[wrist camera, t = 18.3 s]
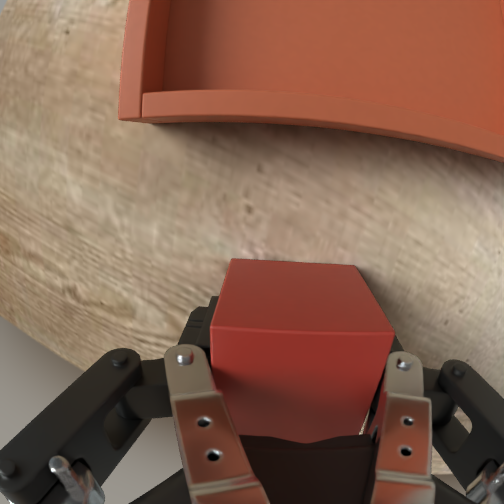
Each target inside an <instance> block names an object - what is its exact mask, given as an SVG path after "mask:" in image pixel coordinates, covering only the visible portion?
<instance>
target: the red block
mask: <svg viewBox="0 0 504 504" xmlns="http://www.w3.org/2000/svg"><path fill="white" fill-rule="evenodd" d="M394 337H395V331H394V329H393V327H392V326H391V324H390V322H389V321H388V319H387V317H386V315H385V314H384V312H383V310H382V309H381V307H380V305H379V304H378V302H377V300H376V299H375V297H374V296H373V294H372V292H371V291H370V289H369V287H368V286H367V284H366V283H365V281H364V279H363V278H362V276H361V275H360V273H359V271H358V270H357V268H356V267H355V266H354V265H339V264H320V263H302V262H284V261H267V260H250V259H231V261H230V264H229V267H228V270H227V273H226V276H225V280H224V283H223V286H222V289H221V292H220V296H219V299H218V302H217V305H216V308H215V312H214V315H213V318H212V321H211V325H210V353H211V373H212V376H213V379H214V382H215V385H216V388H217V389H221V390H222V393H223V395H224V398H225V401H226V404H227V406H228V409H229V412H230V414H231V417H232V420H233V422H234V425H235V428H236V430H237V433H238V435H252V436H271V437H276V438H280V439H285V440H290V441H294V442H299V443H313V442H317V441H321V440H325V439H330V438H334V437H337V436H348V435H359V432H360V430H361V428H362V425H363V423H364V421H365V418H366V416H367V413H368V411H369V408H370V406H371V403H372V401H373V398H374V396H375V393H376V390H377V388H378V385H379V382H380V379H381V377H382V374H383V371H384V368H385V365H386V362H387V359H388V356H389V353H390V350H391V347H392V343H393V340H394Z"/></svg>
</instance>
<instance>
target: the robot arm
mask: <svg viewBox="0 0 504 504" xmlns="http://www.w3.org/2000/svg"><path fill="white" fill-rule="evenodd" d="M218 299H219V296H212V298H211V301H210V304H209V306H208V307H200V306H199V307H198V308H196V309H195V310H194V311H192V312H191V314H190V316H189V319H188V321H187V323H186V327H185V328H184V331H183V333H182V335H181V338H180V340H179V342H178V345H176V346H173V347H171V348H169V349H168V350H167V351H166V352H165V354H164V358H161V359H155V360H143V361H141V359H140V356H139V354H138V353H137V352H135V351H134V350H131V349H127V348H119V349H114V350H111V351H109V352H107V353H106V354H104V355H103V356H102V357H101V358H100V359H99V360H98V361H97V362H96V363H94V364H93V365H92V366H91V367H90V368H89V369H88V370H87V371H86V372H84V373H83V374H82V375H81V376H80V377H79V378H78V379H77V380H76V381H75V382H74V383H72V384H71V385H70V386H69V387H68V388H67V389H66V390H65V391H64V392H63V393H61V394H60V395H59V396H58V397H57V398H56V399H55V400H54V401H53V402H52V403H50V404H49V405H48V406H47V407H46V408H45V409H44V410H43V411H42V412H41V413H40V414H39V415H37V417H35V418H34V419H33V420H32V421H31V422H30V423H29V424H28V425H27V426H26V427H25V428H24V429H23V430H22V431H20V432H19V433H18V434H17V435H16V436H15V437H14V438H13V439H12V440H11V441H10V442H9V443H8V444H7V445H6V446H4V447H3V448H2V449H1V450H0V492H1V493H2V494H3V495H4V496H5V497H6V499H7V500H8V501H9V502H10V503H11V504H104V502H105V495H104V492H103V490H102V488H101V486H102V484H103V483H104V482H105V480H106V479H107V478H108V476H109V475H110V474H111V473H112V471H113V470H114V469H115V467H116V466H117V464H118V463H119V462H120V461H121V459H122V458H123V457H124V456H125V454H126V453H127V452H128V450H129V449H130V448H131V446H132V445H133V443H134V442H135V441H136V440H137V438H138V437H139V436H140V434H141V433H142V432H143V430H144V429H145V428H146V426H147V425H148V424H149V422H150V421H151V419H152V418H162V417H173V419H174V425H175V430H176V436H177V441H178V446H179V451H180V455H181V460H182V465H183V468H182V469H180V470H179V471H178V472H176V473H175V474H173V475H172V476H170V477H169V478H168V479H166V480H165V481H163V482H162V483H160V484H159V485H157V486H156V487H154V488H153V489H151V490H150V491H148V492H146V493H145V494H143V495H142V496H140V497H139V498H137V499H136V500H134V501H132V502H131V503H129V504H504V399H503V398H502V397H501V396H500V395H499V394H498V393H497V392H496V391H495V390H494V389H493V388H492V387H491V386H490V385H489V384H488V383H487V382H486V381H485V380H484V379H483V378H482V377H481V376H480V375H479V374H478V373H477V372H476V371H475V370H474V369H473V368H472V367H471V366H469V365H468V364H467V363H465V362H463V361H460V360H448V361H446V362H444V364H443V366H442V368H441V370H436V369H430V368H424V367H423V366H422V362H421V361H420V359H419V358H418V357H416V356H415V355H413V354H411V353H408V352H404V350H403V348H402V346H401V345H400V343H399V341H398V339H397V338H396V336H395V337H394V340H393V343H392V347H391V350H390V353H389V356H388V359H387V362H386V365H385V368H384V371H383V374H382V377H381V379H380V382H379V385H378V388H377V390H376V393H375V396H374V398H373V401H372V403H371V406H370V408H369V411H368V413H367V416H366V421H365V426H364V430H363V434H362V435H348V436H337V437H334V438H330V439H325V440H321V441H317V442H313V443H299V442H294V441H290V440H285V439H280V438H276V437H271V436H252V435H238V433H237V430H236V428H235V425H234V422H233V420H232V417H231V414H230V412H229V409H228V406H227V404H226V401H225V398H224V395H223V393H222V390H221V389H217V388H216V385H215V382H214V379H213V376H212V373H211V353H210V325H211V321H212V318H213V315H214V312H215V308H216V305H217V302H218ZM458 407H460V408H461V409H462V410H463V412H464V413H465V414H466V415H467V416H468V417H469V418H470V420H471V422H472V430H471V432H470V434H469V432H468V431H467V430H466V429H465V428H464V426H463V425H462V424H461V423H460V422H459V420H458V419H457V418H456V417H455V416H454V414H455V412H456V411H457V409H458ZM432 445H433V446H434V448H435V449H436V450H437V452H438V453H439V455H440V456H441V457H442V459H443V460H444V462H445V463H446V464H447V466H448V467H449V468H450V470H451V471H452V473H453V474H454V475H455V477H456V478H457V480H458V481H459V483H460V484H461V485H462V487H463V488H464V489H465V491H466V496H464V495H463V494H461V493H459V492H458V491H456V490H455V489H453V488H452V487H450V486H449V485H447V484H446V483H444V482H443V481H441V480H440V479H438V478H437V477H435V476H434V475H432V474H431V466H432Z"/></svg>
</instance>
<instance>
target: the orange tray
mask: <svg viewBox="0 0 504 504" xmlns="http://www.w3.org/2000/svg"><path fill="white" fill-rule="evenodd" d="M118 119H119V120H122V121H132V122H142V123H149V124H151V123H174V122H246V123H269V124H286V125H299V126H311V127H321V128H331V129H339V130H347V131H355V132H362V133H369V134H376V135H382V136H389V137H394V138H400V139H406V140H411V141H416V142H421V143H426V144H431V145H436V146H440V147H445V148H449V149H453V150H457V151H461V152H465V153H469V154H473V155H477V156H481V157H484V158H488V159H491V160H495V161H498V162H502V163H504V0H130V1H129V7H128V13H127V20H126V27H125V35H124V44H123V53H122V63H121V75H120V90H119V109H118Z"/></svg>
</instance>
